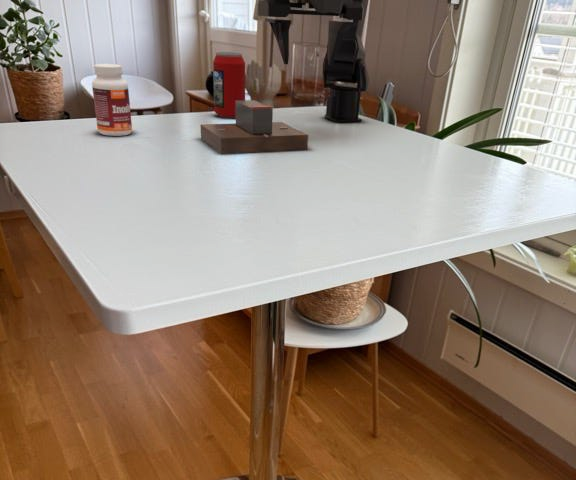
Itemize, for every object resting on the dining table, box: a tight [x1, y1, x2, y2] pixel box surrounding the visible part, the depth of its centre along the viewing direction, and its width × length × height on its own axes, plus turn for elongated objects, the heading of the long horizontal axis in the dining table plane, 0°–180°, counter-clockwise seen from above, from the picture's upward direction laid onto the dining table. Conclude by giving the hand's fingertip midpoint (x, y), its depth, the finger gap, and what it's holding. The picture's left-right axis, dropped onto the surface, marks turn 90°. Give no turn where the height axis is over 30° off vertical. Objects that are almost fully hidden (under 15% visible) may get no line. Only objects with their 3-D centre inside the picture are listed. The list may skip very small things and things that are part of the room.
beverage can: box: [212, 51, 246, 119], centre depth 121 cm, size 7×7×12 cm
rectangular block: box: [235, 99, 274, 134], centre depth 99 cm, size 9×4×4 cm, turn 23°
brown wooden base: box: [200, 121, 309, 155], centre depth 101 cm, size 16×13×3 cm
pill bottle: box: [91, 63, 133, 137], centre depth 101 cm, size 6×6×11 cm
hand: (308, 64), depth 106 cm, fingers open, 9 cm apart
